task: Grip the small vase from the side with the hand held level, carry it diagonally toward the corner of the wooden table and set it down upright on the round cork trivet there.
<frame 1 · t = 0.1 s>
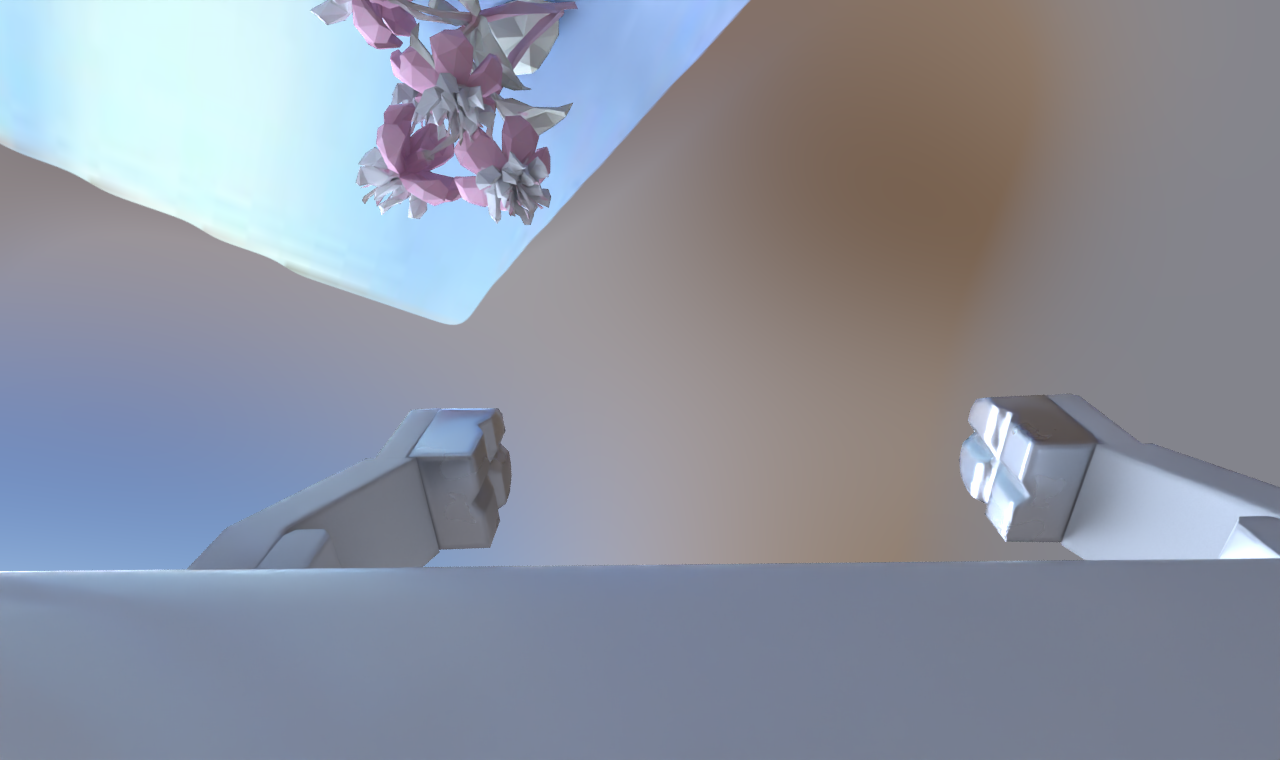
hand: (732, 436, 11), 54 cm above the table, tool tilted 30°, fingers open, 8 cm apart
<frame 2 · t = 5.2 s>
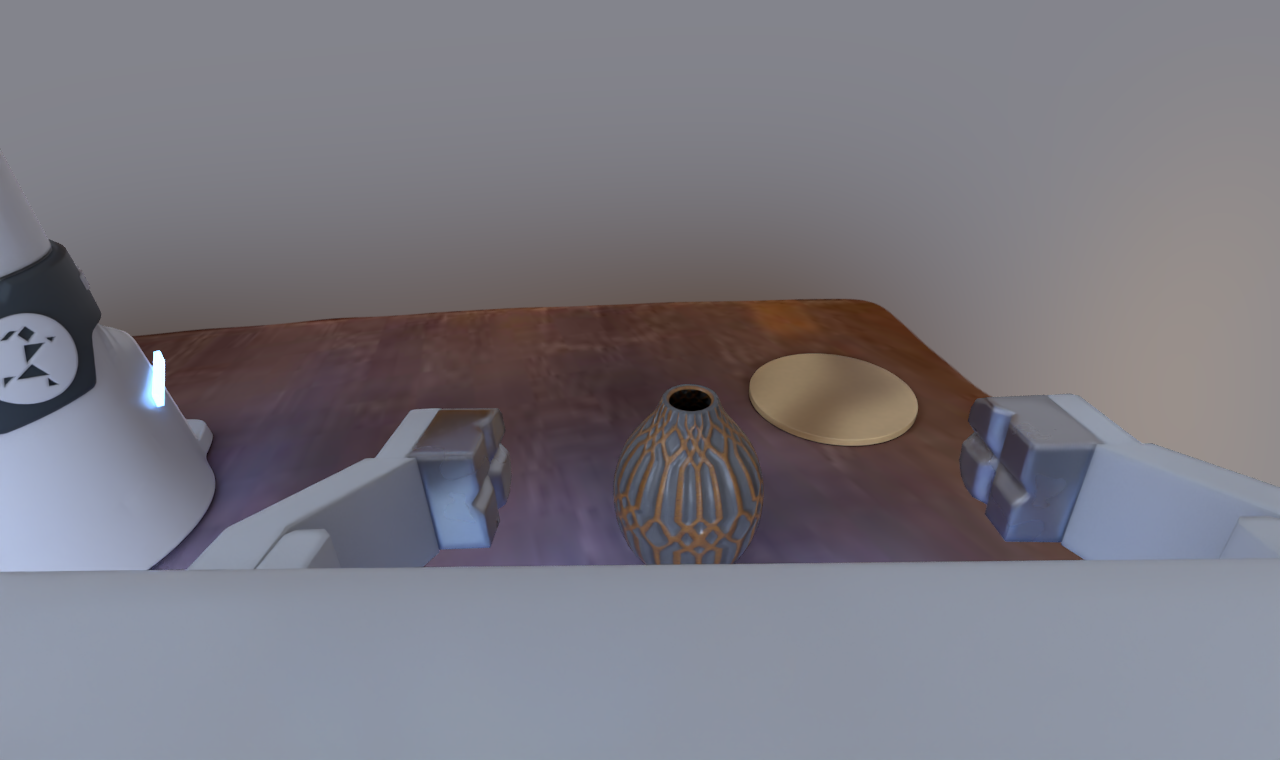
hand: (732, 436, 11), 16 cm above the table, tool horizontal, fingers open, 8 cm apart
cork trivet: (830, 397, 41), on the table
vase: (686, 549, 30), on the table
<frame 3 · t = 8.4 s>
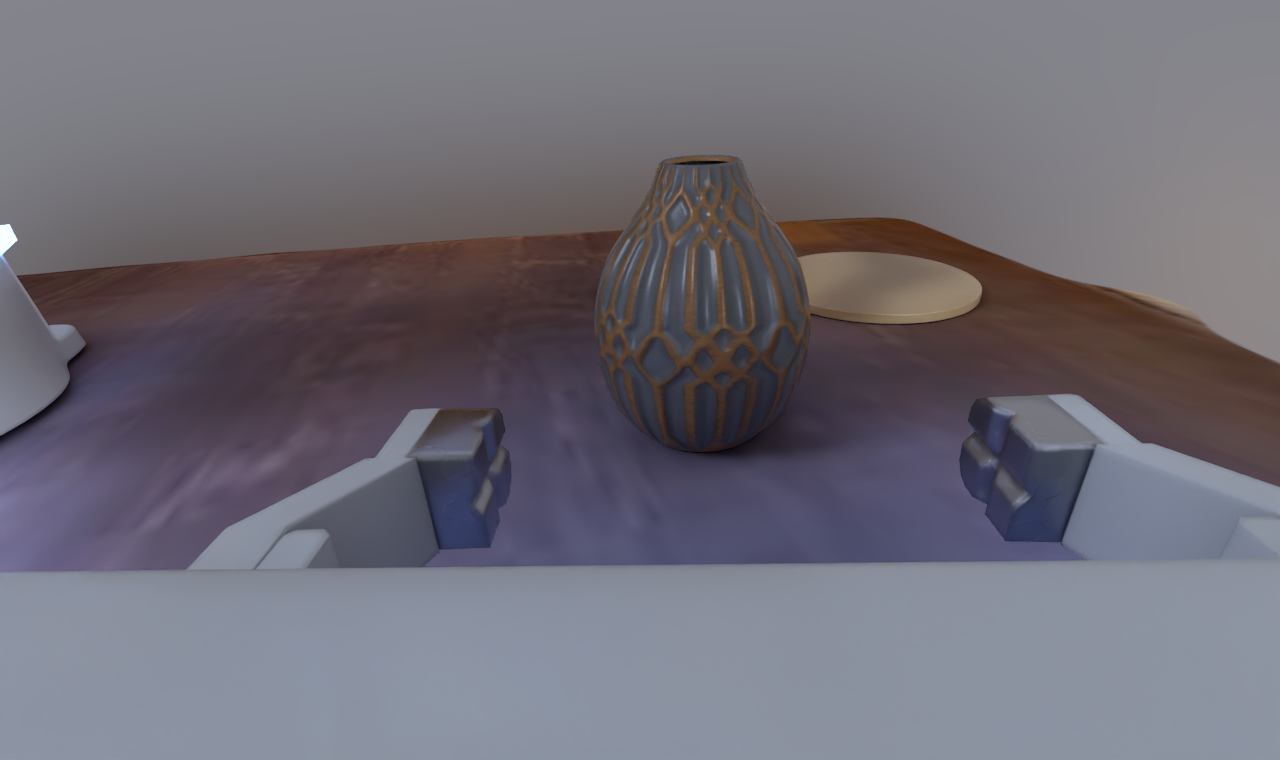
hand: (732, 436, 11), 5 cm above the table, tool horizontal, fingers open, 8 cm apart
cork trivet: (868, 287, 33), on the table
vase: (700, 426, 21), on the table
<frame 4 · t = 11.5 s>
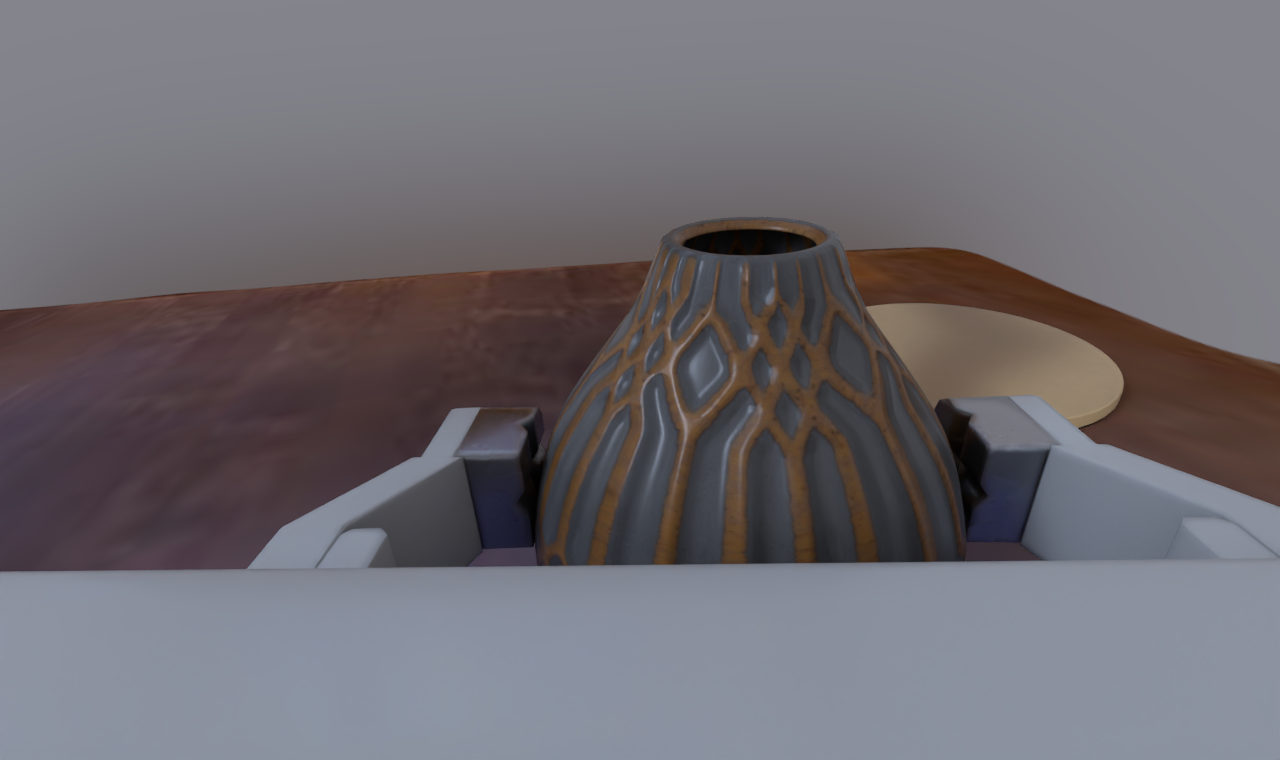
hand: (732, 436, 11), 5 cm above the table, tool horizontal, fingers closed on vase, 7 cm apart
cork trivet: (949, 361, 24), on the table
vase: (732, 678, 12), on the table, touching gripper
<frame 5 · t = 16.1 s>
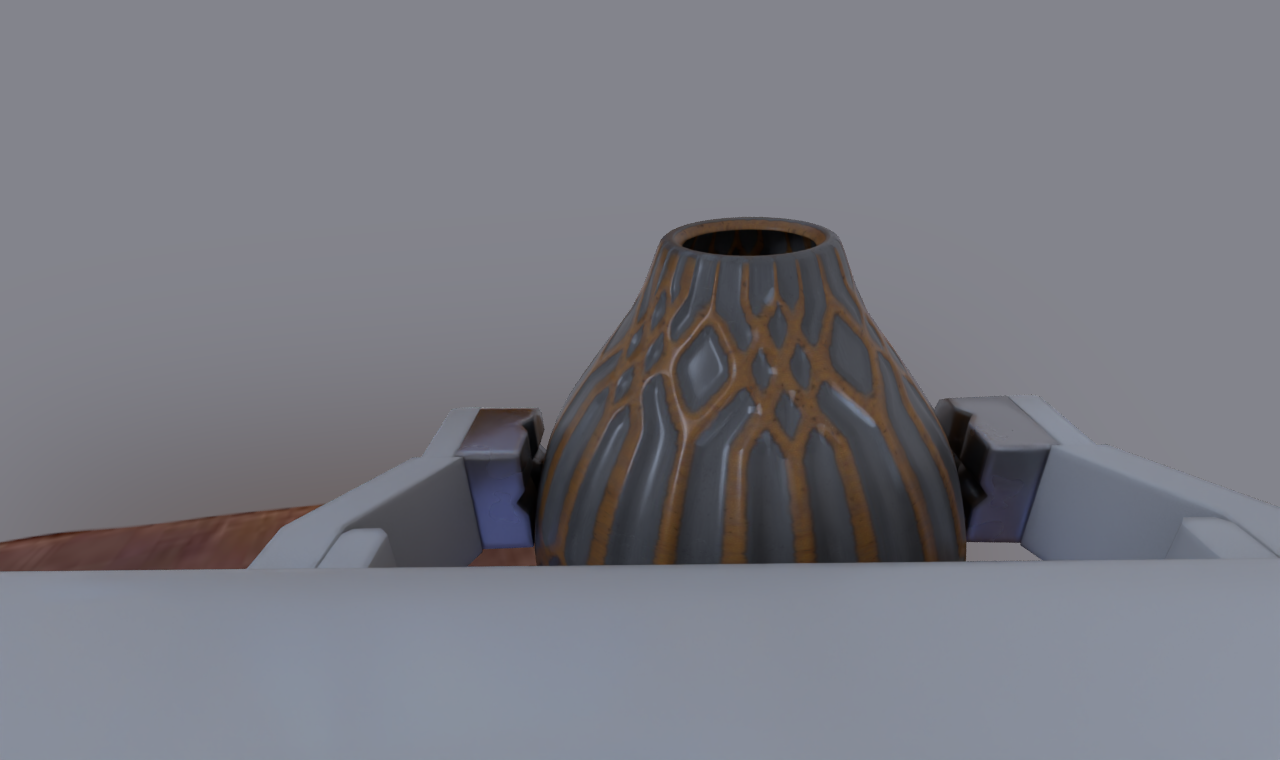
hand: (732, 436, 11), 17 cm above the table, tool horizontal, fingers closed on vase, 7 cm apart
vase: (732, 679, 12), point 12 cm above the table, touching gripper
when the fingers open (6 cm above the table, at t = 20.8 s): vase stays where it is, resting on cork trivet.
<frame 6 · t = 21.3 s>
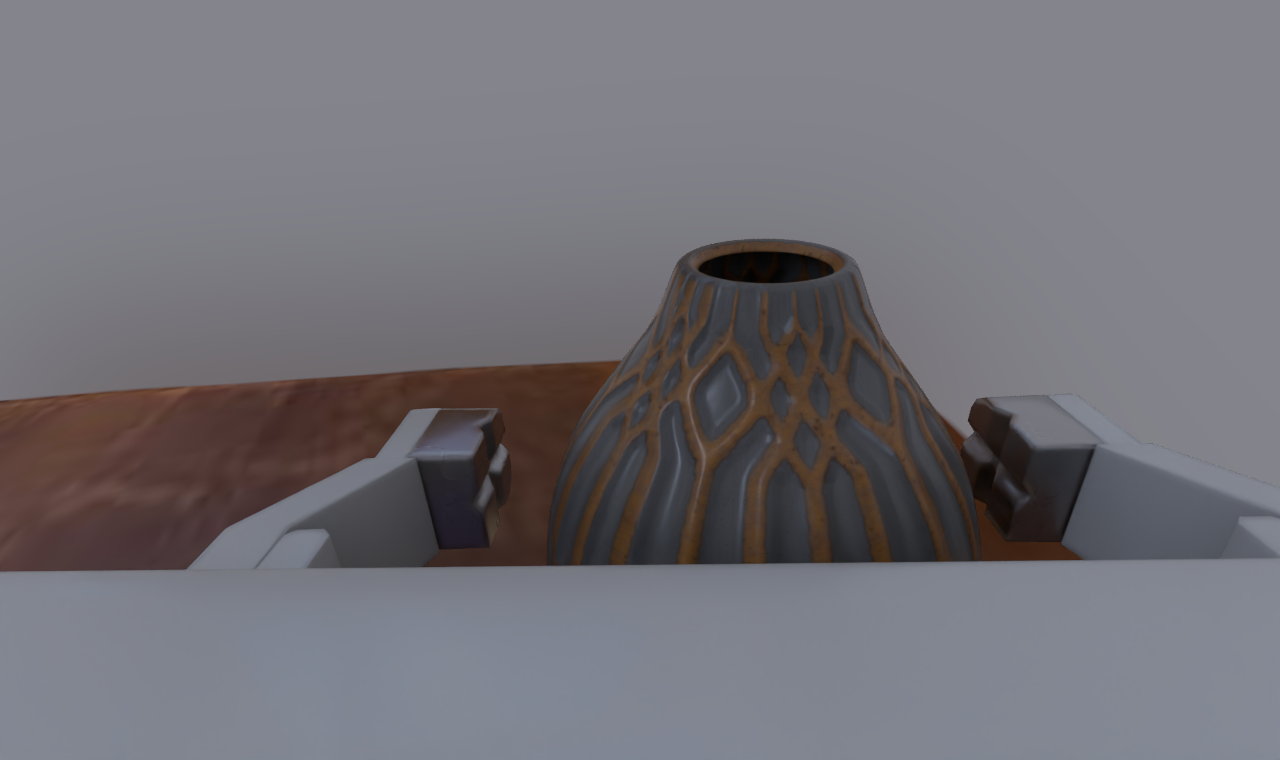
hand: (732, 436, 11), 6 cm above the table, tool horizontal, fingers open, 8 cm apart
vase: (742, 696, 12), resting on cork trivet
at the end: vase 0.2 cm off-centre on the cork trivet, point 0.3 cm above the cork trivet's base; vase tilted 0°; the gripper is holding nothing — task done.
